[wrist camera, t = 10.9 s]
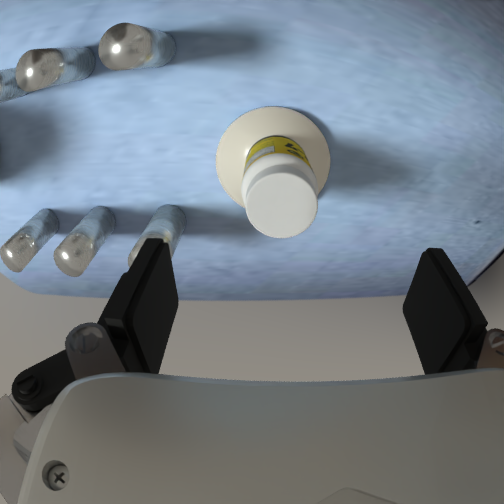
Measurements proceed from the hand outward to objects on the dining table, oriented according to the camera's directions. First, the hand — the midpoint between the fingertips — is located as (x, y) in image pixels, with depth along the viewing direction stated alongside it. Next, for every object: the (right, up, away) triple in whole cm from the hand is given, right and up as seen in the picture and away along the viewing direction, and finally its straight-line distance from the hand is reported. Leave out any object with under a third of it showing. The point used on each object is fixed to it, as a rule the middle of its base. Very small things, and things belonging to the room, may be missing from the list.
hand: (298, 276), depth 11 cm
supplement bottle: (0, +8, +13) cm, 15 cm away
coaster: (0, +8, +14) cm, 16 cm away
